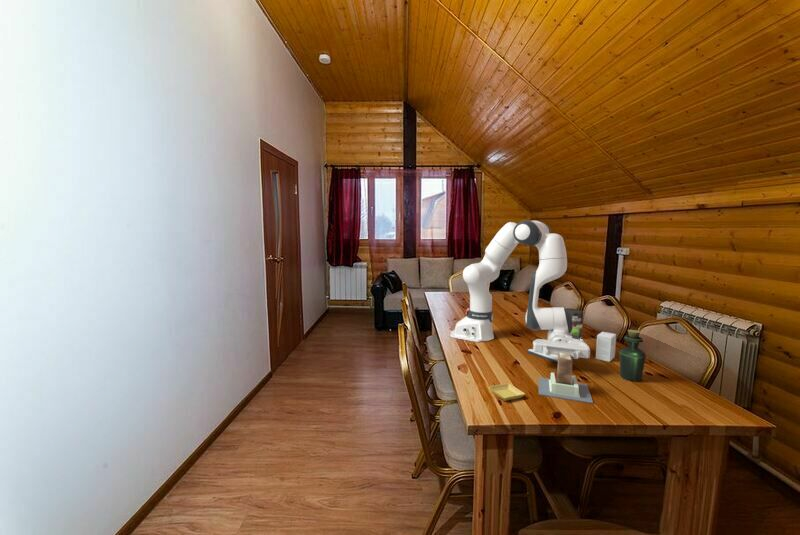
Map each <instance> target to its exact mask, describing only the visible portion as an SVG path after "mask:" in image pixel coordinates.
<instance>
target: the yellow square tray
mask: <svg viewBox="0 0 800 535" xmlns="http://www.w3.org/2000/svg"><path fill="white" fill-rule="evenodd" d="M488 389H490V391H491V393H493V394H494V395H495V396H496V397H498V398H500V399H501V400H502V401H504V402H507V401H512V400H516V399H520V398H522V397H524V396H525V395H526V393H525V391H524V392H523V391H522V390H520V389H518V388H517V387H516V386H514V385H513V384H511V383H508V382H507V383H500V384H496V385H495V384H494V385H489V386H488Z"/></svg>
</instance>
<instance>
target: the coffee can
mask: <svg viewBox="0 0 800 535" xmlns="http://www.w3.org/2000/svg"><path fill="white" fill-rule="evenodd" d="M565 308H566V307H565ZM566 309H567V310H568V311H569V312H570V315H571V318H572V324H573V328H572V331H571V333H570V334H569V335H570V336H572V337H576V338H582V337H583V334H582V333H583V322H584V321H583V320H584V311H583V310H581V309H577V308H569V307H568V308H566ZM582 339H583V338H582Z"/></svg>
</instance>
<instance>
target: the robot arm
mask: <svg viewBox="0 0 800 535" xmlns="http://www.w3.org/2000/svg"><path fill="white" fill-rule="evenodd" d="M518 244H521V245H526V246H529V247H536V248H537V250H538V261H539V264H538V267H537V269H536V270H535V271H534V272H532V276H531V280H530V285H529V293H528V294H529V295H528V303H527V309H526V312H525V318H524V319H525V320H524V321H525V324H526V326H527V327H528V329H530V330H532V331H533V332H534V331H535V332H536V331H542V330H543V331H544V330H545V331H547V335H546V336H547V339H543V338H542V339H541V338H536V339H535V340H533V341H532V345H533V346H532V348H533V351H535V352H540V353H545V354H546V355H550V354H556V355H558V353H567V354H571V357H572V359H574V360H578V359H579V358H583V359H590V357H591V349H590V346H589V345H588V344H587V343H586V342H585V341H584V339H583V338H582V339H581V338H576V337H572V336H570V335H569V334H570V333H571V331H572V328H573V324H572V318H571V315H570V312H569V311H568V310H567V309H566V307H563V306H561V307H558V306H557V307H556V306H555V307H539V306H538V305H539V304H538V302H539V296H540V289H541V287H543V286H544V285H545V284H547V283H549V282H552V281H555V280H557V279H559V278H561V277H562V276H563V275H564V274H565V273H566V271H567V268H568V256H567V255H568V254H567V249H566V244H565V241H564V237H563V236H562V235H560V234H558V233H555V232H554V233H552V230H551V227H550V226H549V225H548V224H547V223H545V222H542V221H538V220H528V219H527V220H521V221H519V222H517V223H516V222H513V221H509V222H506V224H504V225H503V226H502V227H501V228H500V229H499V230H498V231H497V233H496V234H495V236H494V237H493V238H492V239H491V241H490V242H489V244H488V245H487V246H486V248H485V250H484V256H483V258H482V259H481V260H480V262H476V263H471V264H469V265H468V266H465V267H464V269H463V271H462V278H463V281H464V282H465V284H466V285H467V288H468V291H469V293H468V294H469V307H468V308H467V309H466V310H465V316H464V317H463V318H461V319H460V320H459V321H457V322H456V324H455V327H454V329H453V330H451V332H450V334H449V335H450V337H451V338H453V339H459V340H464V341H470V342H473V343H474V342H475V343H480V342H487V341H491V340H492V341H493V340H494V339H495V335H494V330H493V319H494V317H493V316H494V315H493V314H494V313H493V310H492V309H493V307H492V306H493V296H492V295H493V294H492V293H490V289H489V283H492V282H494V281H495V280H497V279H498V278H499V276H500V273H501V272H500V271H501V270H502V267H503V265H504V263H505V262H506V261H507V259H508V258H509V257H510V255H511V254H512V252H513V251H514V250H515V248H516V247H517V245H518Z"/></svg>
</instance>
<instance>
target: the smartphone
mask: <svg viewBox="0 0 800 535" xmlns="http://www.w3.org/2000/svg"><path fill="white" fill-rule="evenodd" d="M526 353H527V354H530V355H533V356H536V357H539V358H541V359H544V360H547V361H551V362H554V363H555V364H558V355H556V354H550V355H546V354H545V353H540V352H535V351H533V347H531V348H528V349H527V350H526Z"/></svg>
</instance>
